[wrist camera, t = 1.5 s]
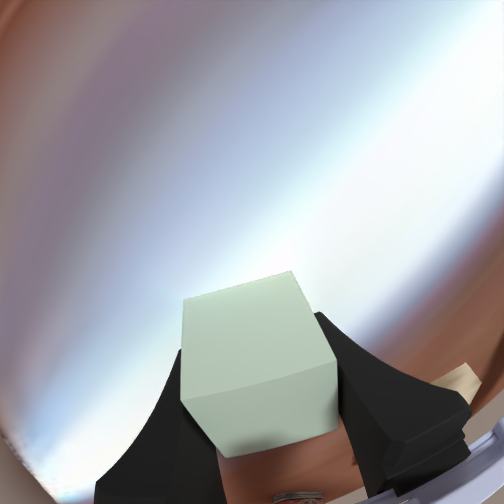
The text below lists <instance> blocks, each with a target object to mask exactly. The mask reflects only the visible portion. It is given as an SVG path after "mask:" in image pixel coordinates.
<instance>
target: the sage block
mask: <svg viewBox="0 0 504 504" xmlns="http://www.w3.org/2000/svg"><path fill="white" fill-rule="evenodd" d="M180 400H181V402H182V403H183V404H184V406H185V407H186V409H187V410H188V411H189V413H190V414H191V415H192V417H193V418H194V419H195V421H196V422H197V423H198V424H199V426H200V427H201V428H202V430H203V431H204V432H205V433H206V435H207V436H208V437H209V438H210V440H211V441H212V442H213V443H214V445H215V446H216V447H217V448H218V449H219V451H220V452H221V453H222V454H223V455H224V457H225V458H229V457H234V456H240V455H245V454H250V453H255V452H259V451H264V450H268V449H272V448H276V447H280V446H284V445H288V444H291V443H295V442H299V441H302V440H305V439H309V438H312V437H315V436H318V435H322V434H325V433H328V432H331V431H334V430H336V429H338V381H337V359H336V357H335V355H334V353H333V351H332V349H331V347H330V345H329V343H328V341H327V339H326V337H325V335H324V333H323V331H322V329H321V327H320V325H319V323H318V321H317V319H316V318H315V316H314V314H313V312H312V310H311V308H310V306H309V304H308V302H307V300H306V298H305V296H304V294H303V292H302V290H301V288H300V286H299V284H298V282H297V280H296V279H295V277H294V275H293V273H292V271H287V272H284V273H280V274H277V275H273V276H270V277H266V278H262V279H259V280H255V281H252V282H248V283H244V284H241V285H237V286H233V287H230V288H226V289H222V290H218V291H215V292H211V293H207V294H203V295H200V296H196V297H192V298H188V299H184V301H183V320H182V345H181V394H180Z"/></svg>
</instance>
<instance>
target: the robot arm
mask: <svg viewBox="0 0 504 504" xmlns="http://www.w3.org/2000/svg"><path fill="white" fill-rule="evenodd" d="M314 316H315V318H316V319H317V321H318V323H319V325H320V327H321V329H322V331H323V333H324V335H325V337H326V339H327V341H328V343H329V345H330V347H331V349H332V351H333V353H334V355H335V357H336V359H337V381H338V412H339V414H340V416H341V418H342V421H343V424H344V426H345V429H346V432H347V434H348V437H349V440H350V443H351V446H352V448H353V451H354V454H355V457H356V460H357V463H358V466H359V469H360V473H361V476H362V479H363V482H364V486H365V489H366V492H367V496H368V499H367V500H364V501H362V502H359V503H356V504H399V503H402V502H404V501H406V500H408V499H409V500H408V501H407V502H405V503H403V504H481V503H482V502H483V501H484V500H486V499H487V498H488V497H489V496H491V495H492V494H493V493H494V492H496V491H497V490H498V489H499V488H501V487H502V486H503V485H504V416H503V417H502V418H501V419H500V420H499V421H498V422H497V423H496V424H495V426H494V427H493V429H492V430H490V431H489V432H488V433H486V434H485V435H484V436H482V437H481V438H479V439H478V440H477V441H475V442H474V443H472V444H471V445H469V446H467V445H466V443H465V441H464V440H463V439H464V438H465V434H464V433H463V431H462V428H463V427H464V425H465V424H466V422H467V421H468V419H469V418H470V416H471V413H472V408H471V407H470V406H469V404H468V403H467V401H466V400H465V399H464V398H463V396H462V395H461V394H460V393H459V392H458V391H455V390H451V389H447V388H443V387H439V386H436V385H433V384H430V383H427V382H424V381H421V380H419V379H417V378H415V377H412V376H410V375H408V374H405V373H403V372H401V371H399V370H397V369H395V368H393V367H391V366H390V365H388V364H386V363H384V362H383V361H381V360H379V359H378V358H376V357H375V356H373V355H372V354H370V353H369V352H367V351H366V350H364V349H363V348H362V347H360V346H359V345H358V344H356V343H355V342H354V341H353V340H351V339H350V338H349V337H348V336H346V335H345V334H344V333H343V332H342V331H340V330H339V329H338V328H337V327H336V326H335V325H334V324H333V323H332V322H331V321H330V320H329V319H328V318H327V317H326V316H325V315H324V314H323V313H321V312H317V313H314ZM180 394H181V349H180V350H179V351H178V354H177V357H176V359H175V362H174V365H173V367H172V370H171V372H170V375H169V377H168V380H167V382H166V384H165V387H164V389H163V391H162V394H161V396H160V398H159V400H158V402H157V404H156V406H155V408H154V410H153V412H152V413H151V415H150V417H149V419H148V420H147V422H146V424H145V425H144V427H143V429H142V430H141V432H140V433H139V435H138V436H137V437H136V439H135V440H134V442H133V443H132V444H131V446H130V447H129V448H128V450H127V451H126V452H125V453H124V454H123V455H122V457H121V458H120V459H119V460H118V461H117V462H116V463H115V464H114V466H113V467H112V468H111V469H109V470H108V471H107V472H106V473H105V474H104V475H103V476H102V477H101V478H100V479H99V480H98V481H96V485H95V493H94V504H227V501H226V497H225V493H224V489H223V484H222V480H221V475H220V470H219V465H218V459H217V454H216V446H215V445H214V443H213V442H212V441H211V440H210V438H209V437H208V436H207V435H206V433H205V432H204V431H203V430H202V428H201V427H200V426H199V424H198V423H197V422H196V421H195V419H194V418H193V417H192V415H191V414H190V413H189V411H188V410H187V409H186V407H185V406H184V404H183V403H182V402H181V400H180Z"/></svg>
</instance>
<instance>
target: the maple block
mask: <svg viewBox="0 0 504 504" xmlns="http://www.w3.org/2000/svg"><path fill="white" fill-rule="evenodd" d="M430 384H433V385H436V386H439V387H443V388H447V389H451V390H455V391H458V392H459V393H460V394H461V395H462V396H463V398H464V399H465V400H466V401H467V403H468V404H469V405H470V403H471V401H472V399H473V398H474V396H475V394H476V392H477V391H478V389H479V387H480V385H481V381H480V380H479V379H478V377H477V376H476V375H475V373H474V372H473V371H472V370H471V368H470V367H469V366H468V364H467V363H464V364H463V365H461V366H459V367H458V368H456V369H454V370H453V371H451V372H449V373H448V374H446V375H444V376H442V377H440V378H439V379H437V380H435V381H433V382H431V383H430Z"/></svg>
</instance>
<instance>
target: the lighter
mask: <svg viewBox="0 0 504 504" xmlns="http://www.w3.org/2000/svg"><path fill="white" fill-rule="evenodd" d="M272 499H273V504H324V501H323V499H324V496H323V493H321V492H289V493H283V494H279V495H276V496H274V497H273V498H272Z"/></svg>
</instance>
